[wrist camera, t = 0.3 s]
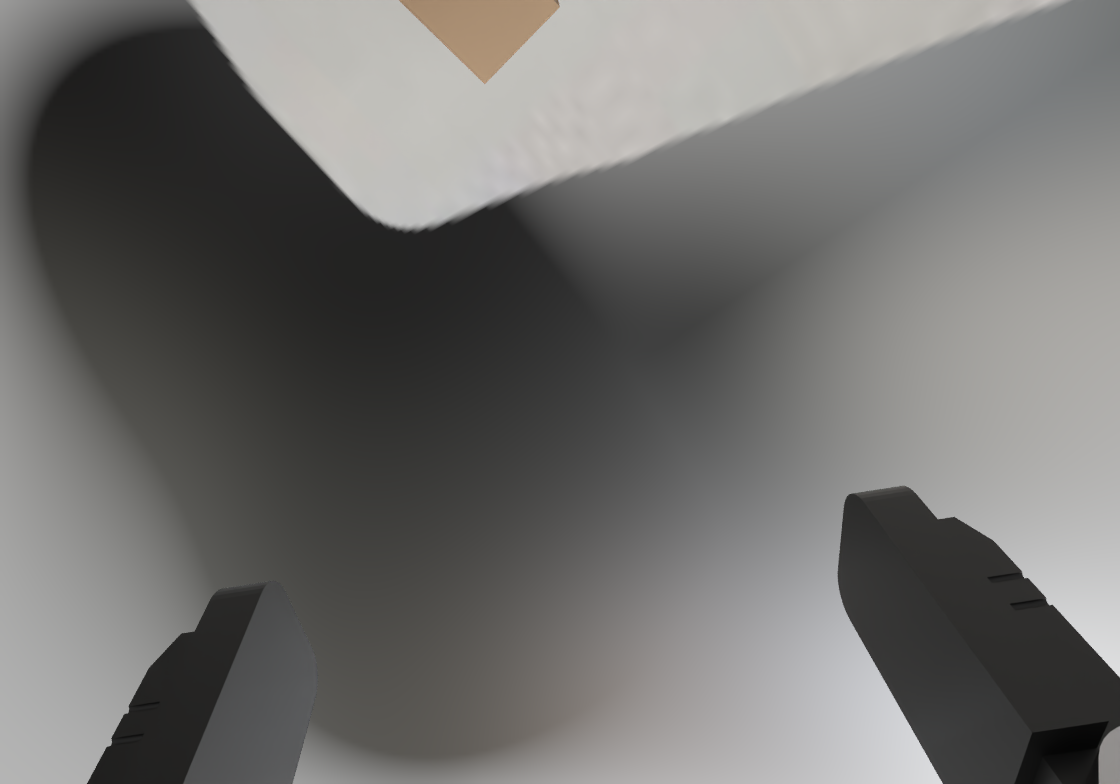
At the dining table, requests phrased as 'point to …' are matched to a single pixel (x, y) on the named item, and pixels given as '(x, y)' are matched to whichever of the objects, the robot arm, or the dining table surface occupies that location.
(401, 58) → the dining table surface
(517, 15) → the shelf
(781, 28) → the dining table surface
